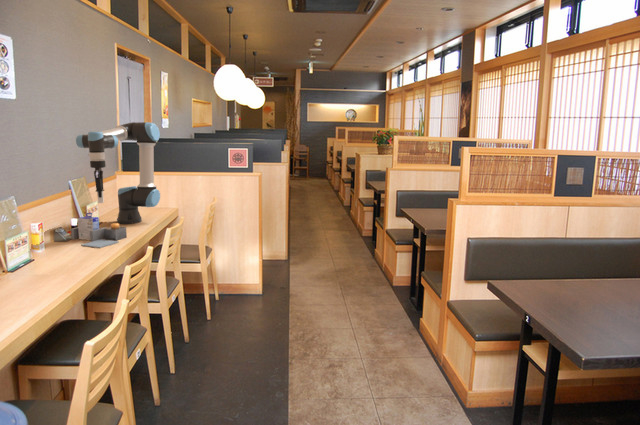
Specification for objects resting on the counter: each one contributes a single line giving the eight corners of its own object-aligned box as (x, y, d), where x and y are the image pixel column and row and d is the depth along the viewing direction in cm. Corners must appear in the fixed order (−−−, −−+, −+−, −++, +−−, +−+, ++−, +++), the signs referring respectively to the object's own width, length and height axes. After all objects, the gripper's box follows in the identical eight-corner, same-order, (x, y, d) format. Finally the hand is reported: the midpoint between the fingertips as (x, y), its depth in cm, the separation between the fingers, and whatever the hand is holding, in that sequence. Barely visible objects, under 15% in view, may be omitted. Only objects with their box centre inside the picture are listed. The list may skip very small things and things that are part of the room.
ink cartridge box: (100, 238, 265) (98, 212, 262) (94, 240, 260) (92, 214, 257) (85, 237, 267) (83, 212, 264) (78, 239, 261) (76, 213, 259)
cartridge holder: (86, 235, 271) (85, 225, 270) (107, 238, 265) (106, 227, 264) (71, 239, 261) (70, 228, 260) (93, 242, 256) (92, 231, 255)
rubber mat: (100, 240, 260) (100, 239, 260) (118, 242, 255) (118, 241, 255) (81, 245, 248) (81, 244, 248) (99, 248, 243) (99, 247, 243)
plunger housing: (115, 236, 269) (115, 226, 268) (126, 237, 266) (126, 227, 265) (104, 239, 262) (104, 228, 261) (115, 240, 259) (115, 230, 258)
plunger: (115, 234, 266) (114, 222, 265) (121, 234, 265) (120, 223, 264) (109, 235, 262) (108, 224, 261) (115, 236, 261) (114, 225, 260)
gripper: (92, 159, 261) (95, 201, 265) (87, 161, 248) (91, 205, 253) (106, 159, 263) (109, 200, 267) (103, 161, 250) (106, 204, 255)
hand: (101, 202), depth 260 cm, fingers closed
